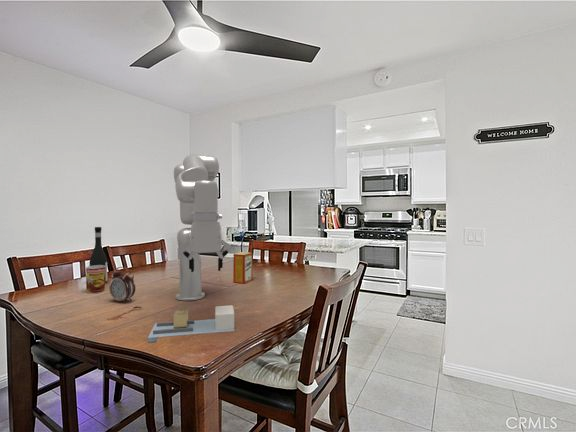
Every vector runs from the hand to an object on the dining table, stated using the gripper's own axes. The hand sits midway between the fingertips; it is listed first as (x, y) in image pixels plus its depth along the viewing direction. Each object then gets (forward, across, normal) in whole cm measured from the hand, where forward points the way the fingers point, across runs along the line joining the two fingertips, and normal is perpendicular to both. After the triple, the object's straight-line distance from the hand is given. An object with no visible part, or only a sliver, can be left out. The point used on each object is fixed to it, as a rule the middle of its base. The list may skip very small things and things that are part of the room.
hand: (206, 270), depth 105 cm
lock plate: (+20, +4, 0) cm, 21 cm away
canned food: (+20, +53, -60) cm, 83 cm away
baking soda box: (+20, -18, -66) cm, 71 cm away
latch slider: (+18, +8, 0) cm, 20 cm away
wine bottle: (+20, +57, -76) cm, 97 cm away
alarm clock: (+20, +36, -40) cm, 57 cm away
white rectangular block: (+19, -6, 0) cm, 20 cm away
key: (+21, +30, -23) cm, 43 cm away
